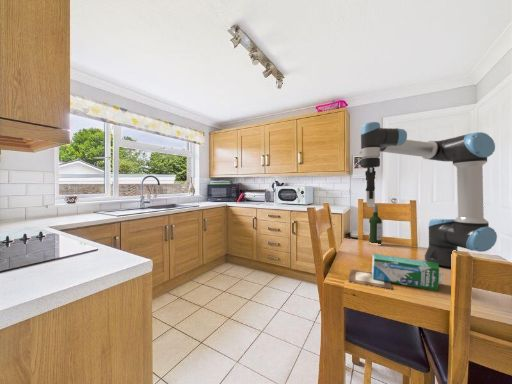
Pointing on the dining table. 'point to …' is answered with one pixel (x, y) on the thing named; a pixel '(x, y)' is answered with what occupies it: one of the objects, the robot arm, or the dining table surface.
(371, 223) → the wine bottle
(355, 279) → the rest board
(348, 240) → the dining table surface
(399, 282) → the milk carton
